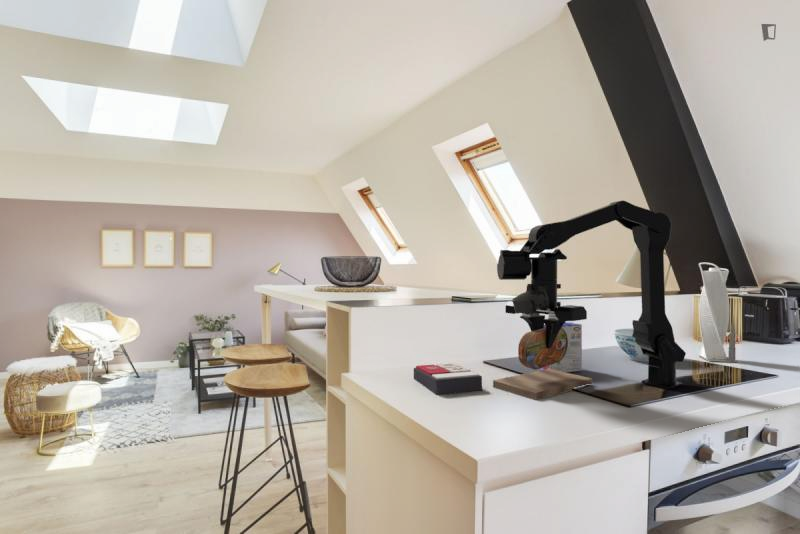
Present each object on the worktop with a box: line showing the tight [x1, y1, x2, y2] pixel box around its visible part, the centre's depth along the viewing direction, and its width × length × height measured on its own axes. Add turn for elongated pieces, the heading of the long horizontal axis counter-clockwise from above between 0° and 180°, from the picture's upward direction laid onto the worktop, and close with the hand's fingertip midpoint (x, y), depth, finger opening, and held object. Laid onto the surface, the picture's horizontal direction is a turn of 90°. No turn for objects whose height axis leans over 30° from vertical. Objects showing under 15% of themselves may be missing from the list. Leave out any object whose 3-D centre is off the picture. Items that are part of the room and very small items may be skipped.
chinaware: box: [613, 328, 649, 363], centre depth 141 cm, size 15×15×8 cm
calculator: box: [413, 362, 483, 396], centre depth 114 cm, size 11×4×15 cm
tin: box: [517, 327, 568, 371], centre depth 112 cm, size 15×3×8 cm, turn 125°
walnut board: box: [492, 369, 593, 401], centre depth 112 cm, size 20×12×2 cm, turn 125°
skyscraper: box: [698, 261, 738, 364], centre depth 141 cm, size 8×8×28 cm
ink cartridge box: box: [539, 321, 583, 373], centre depth 127 cm, size 10×6×14 cm, turn 111°
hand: (543, 347), depth 112 cm, fingers closed on tin, 2 cm apart
